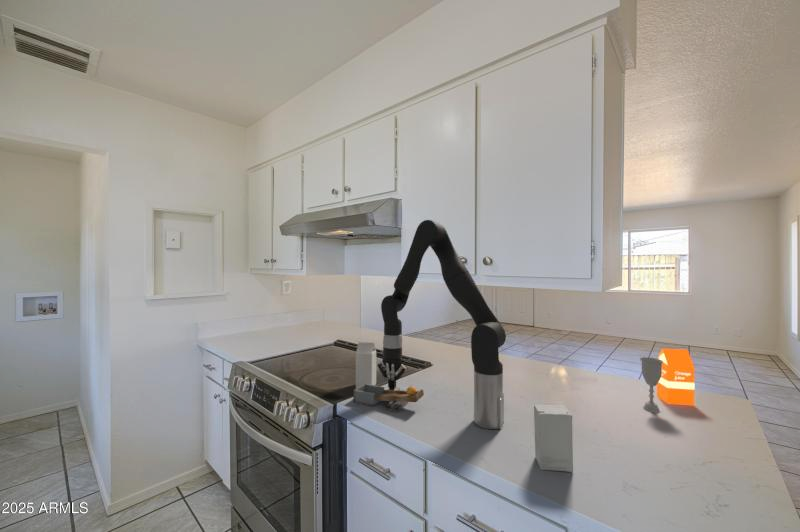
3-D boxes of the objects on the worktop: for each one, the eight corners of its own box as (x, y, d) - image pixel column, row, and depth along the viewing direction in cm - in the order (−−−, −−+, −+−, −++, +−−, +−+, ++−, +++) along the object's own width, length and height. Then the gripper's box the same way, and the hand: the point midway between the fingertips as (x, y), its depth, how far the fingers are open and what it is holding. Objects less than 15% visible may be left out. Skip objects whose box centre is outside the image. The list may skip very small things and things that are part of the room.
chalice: (642, 403, 125) (642, 356, 125) (664, 409, 121) (665, 360, 121) (637, 409, 120) (638, 360, 120) (661, 415, 116) (661, 364, 115)
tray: (384, 398, 130) (384, 387, 130) (373, 406, 123) (373, 394, 123) (364, 394, 134) (364, 383, 134) (353, 401, 127) (353, 390, 127)
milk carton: (371, 390, 139) (371, 344, 139) (355, 388, 140) (355, 343, 140) (376, 384, 146) (376, 341, 146) (360, 382, 147) (360, 340, 147)
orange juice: (694, 405, 124) (694, 352, 124) (667, 403, 126) (667, 351, 126) (681, 397, 132) (681, 347, 131) (656, 395, 133) (656, 346, 133)
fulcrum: (408, 402, 126) (408, 395, 126) (397, 412, 118) (397, 404, 118) (396, 400, 128) (396, 393, 128) (385, 409, 120) (385, 401, 120)
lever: (429, 391, 126) (428, 384, 126) (417, 402, 116) (416, 395, 116) (390, 389, 134) (390, 383, 134) (376, 400, 123) (375, 393, 124)
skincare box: (566, 460, 89) (566, 404, 89) (574, 474, 83) (574, 414, 83) (533, 457, 91) (533, 402, 90) (538, 470, 85) (538, 412, 85)
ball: (419, 390, 121) (413, 382, 122) (415, 393, 118) (409, 385, 119) (413, 396, 122) (407, 388, 123) (409, 399, 119) (403, 392, 120)
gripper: (411, 345, 131) (411, 388, 132) (382, 341, 137) (382, 382, 138) (403, 349, 125) (402, 395, 125) (373, 345, 131) (372, 389, 131)
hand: (392, 388), depth 131 cm, fingers closed
